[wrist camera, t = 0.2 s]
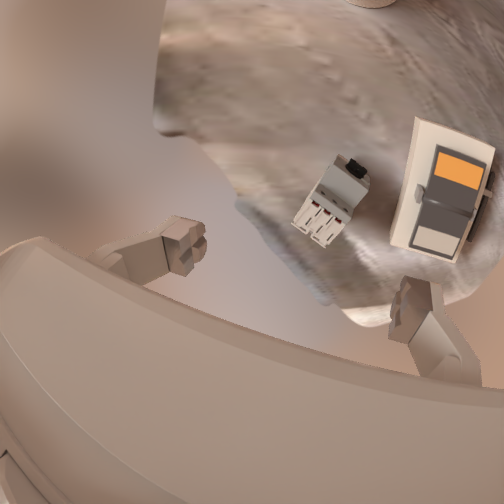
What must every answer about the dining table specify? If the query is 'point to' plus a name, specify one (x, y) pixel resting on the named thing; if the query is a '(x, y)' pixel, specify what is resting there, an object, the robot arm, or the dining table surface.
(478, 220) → the dark grey piece
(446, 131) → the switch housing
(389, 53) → the dining table surface
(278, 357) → the robot arm
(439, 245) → the block
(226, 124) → the dining table surface
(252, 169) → the dining table surface
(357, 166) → the circuit breaker
